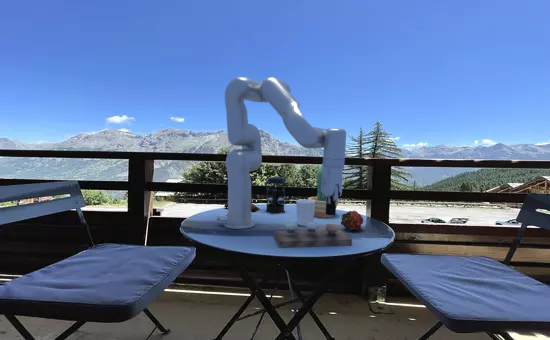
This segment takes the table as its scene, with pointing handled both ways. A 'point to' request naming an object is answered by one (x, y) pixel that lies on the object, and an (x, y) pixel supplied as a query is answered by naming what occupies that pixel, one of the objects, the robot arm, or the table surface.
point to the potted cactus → (320, 197)
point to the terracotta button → (331, 228)
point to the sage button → (290, 227)
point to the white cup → (305, 211)
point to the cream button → (311, 226)
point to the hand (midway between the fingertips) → (330, 214)
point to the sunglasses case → (251, 207)
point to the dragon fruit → (352, 220)
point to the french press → (275, 195)
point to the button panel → (311, 238)
